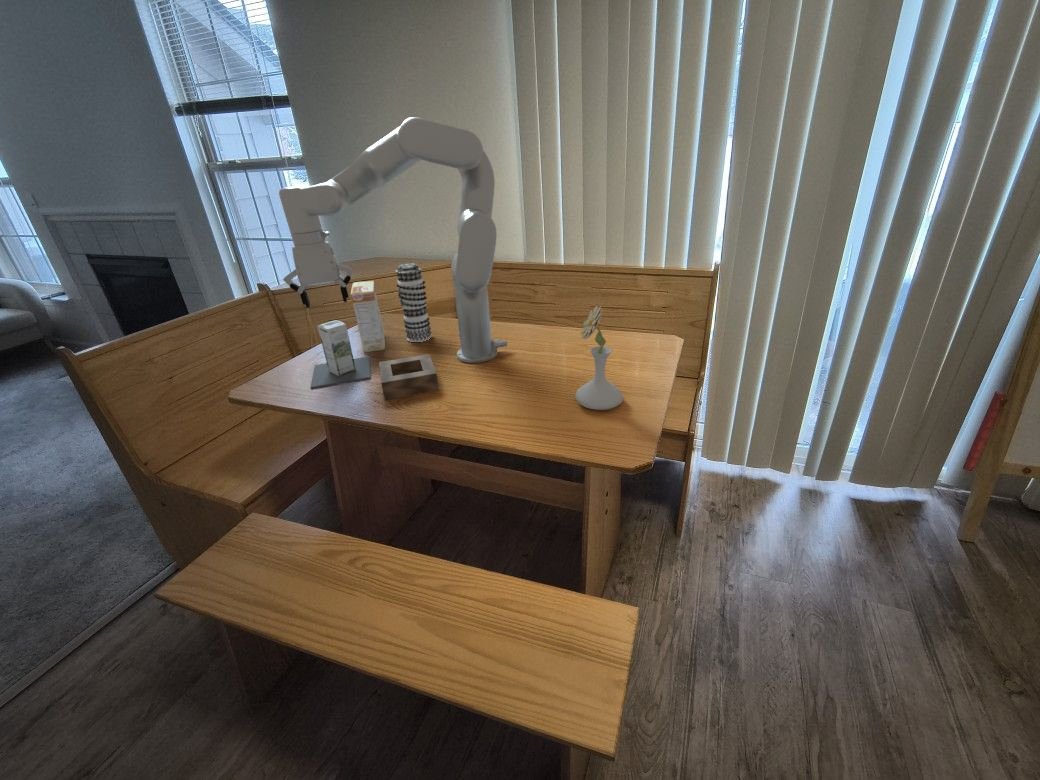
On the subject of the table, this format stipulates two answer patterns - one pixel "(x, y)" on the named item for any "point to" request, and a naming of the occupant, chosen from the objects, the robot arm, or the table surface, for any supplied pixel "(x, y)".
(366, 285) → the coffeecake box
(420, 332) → the black and white tower
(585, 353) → the table surface
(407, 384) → the walnut pocket holder
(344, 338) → the syrup box
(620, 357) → the table surface
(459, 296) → the robot arm
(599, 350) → the flower in vase
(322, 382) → the charcoal mat
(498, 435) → the table surface
